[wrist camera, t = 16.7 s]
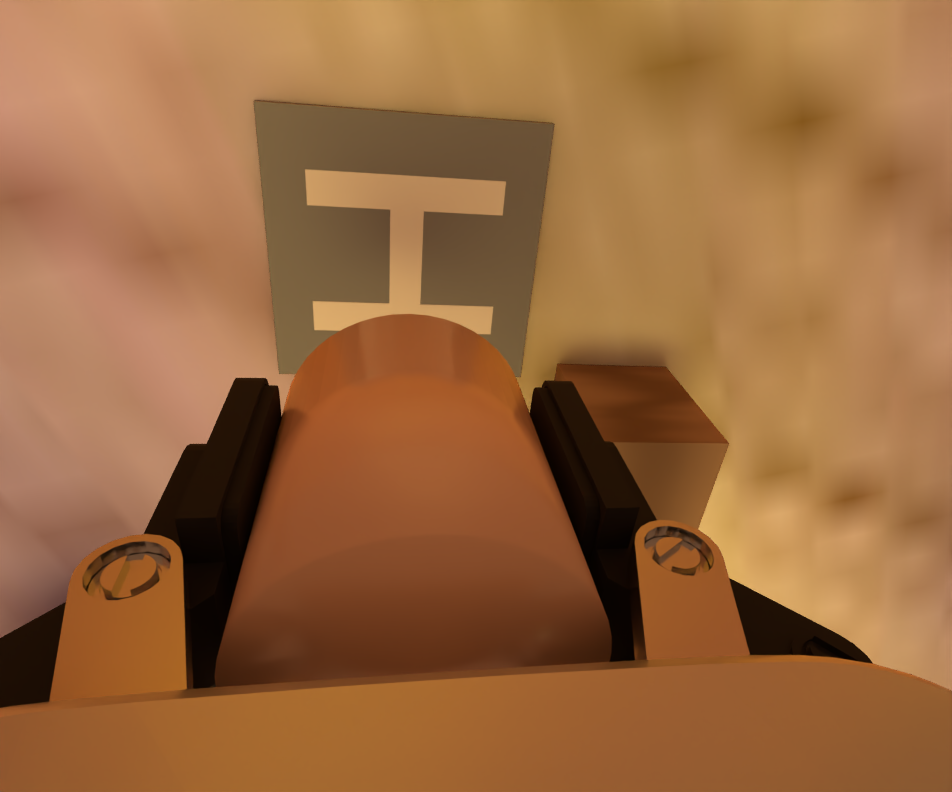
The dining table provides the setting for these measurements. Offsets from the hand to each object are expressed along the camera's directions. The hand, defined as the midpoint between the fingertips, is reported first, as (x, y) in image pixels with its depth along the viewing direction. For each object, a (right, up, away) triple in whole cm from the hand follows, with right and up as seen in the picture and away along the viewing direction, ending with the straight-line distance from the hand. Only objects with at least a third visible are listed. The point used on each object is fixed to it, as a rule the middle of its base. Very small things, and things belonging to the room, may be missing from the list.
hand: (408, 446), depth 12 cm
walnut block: (+7, 0, +16) cm, 17 cm away
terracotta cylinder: (0, 0, +1) cm, 1 cm away
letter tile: (-1, +6, +11) cm, 13 cm away
